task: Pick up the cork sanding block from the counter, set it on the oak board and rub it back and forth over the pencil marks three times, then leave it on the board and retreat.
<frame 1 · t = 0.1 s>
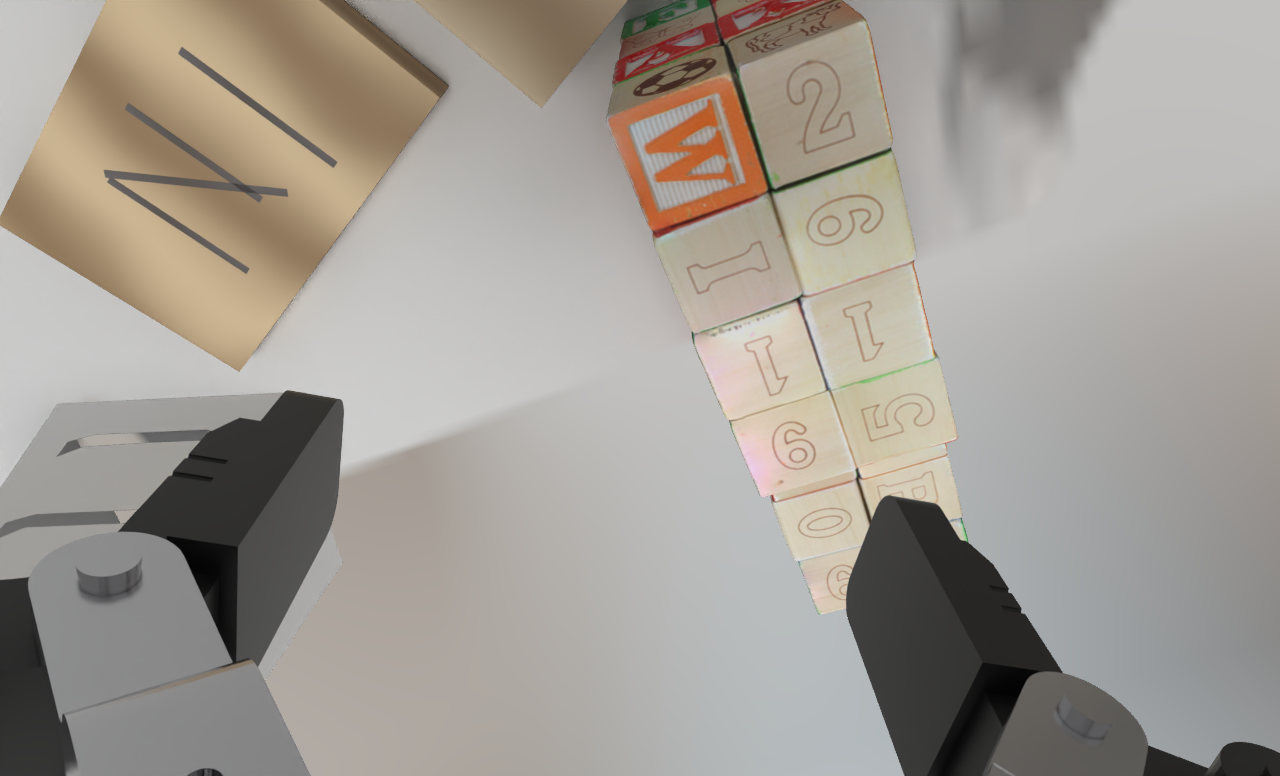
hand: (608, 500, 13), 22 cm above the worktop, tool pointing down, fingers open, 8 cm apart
grater: (211, 485, 42), on the worktop
stack of blocks: (785, 252, 35), on the worktop
board: (226, 149, 32), on the worktop
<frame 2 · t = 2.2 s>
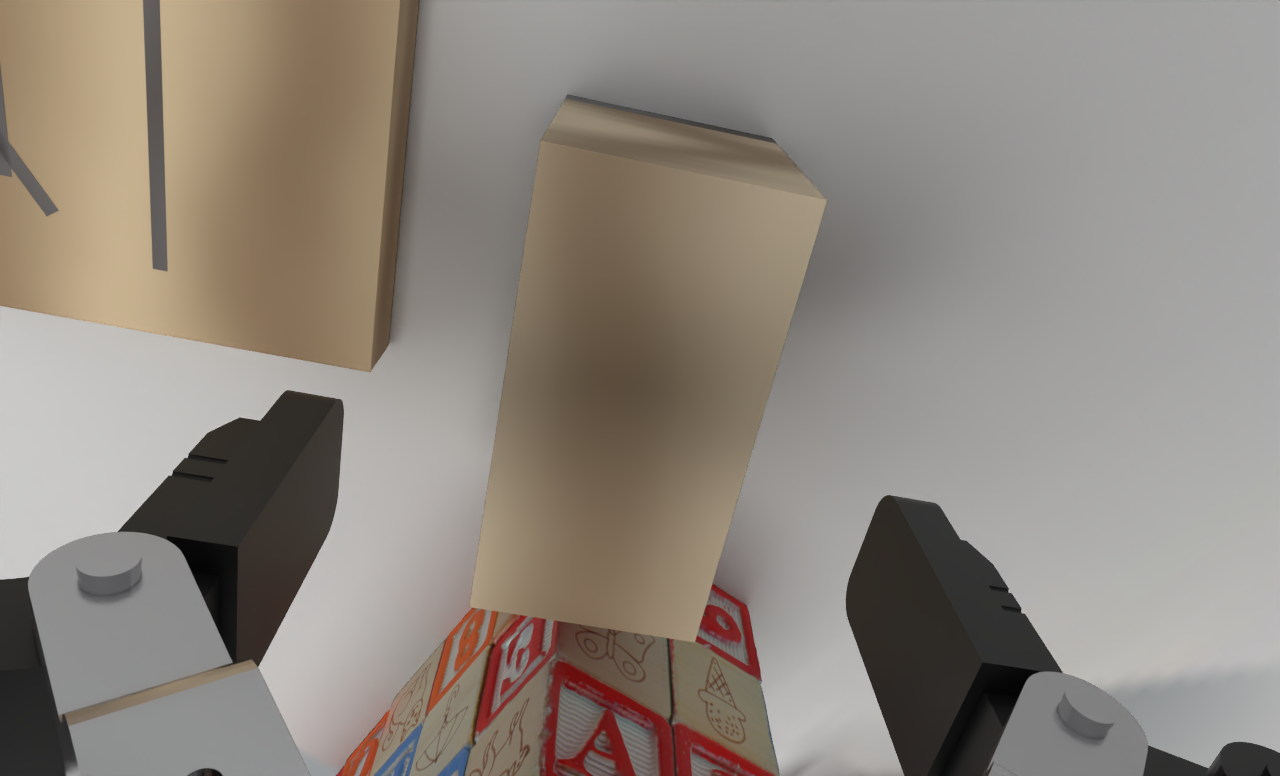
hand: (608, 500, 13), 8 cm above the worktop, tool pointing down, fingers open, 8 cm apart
sanding block: (629, 308, 20), on the worktop
stack of blocks: (457, 765, 27), on the worktop
board: (44, 59, 18), on the worktop
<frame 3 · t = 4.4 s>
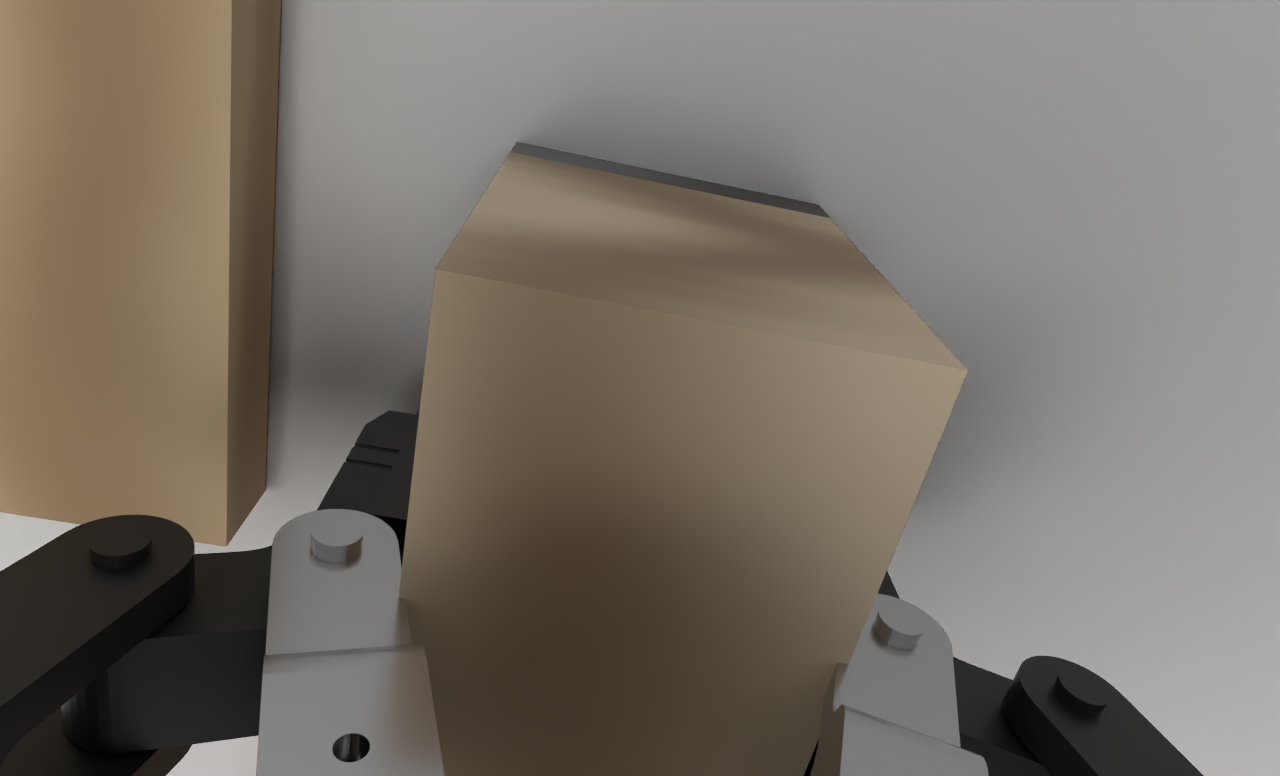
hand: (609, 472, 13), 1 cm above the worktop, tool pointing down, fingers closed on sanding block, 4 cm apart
sanding block: (611, 440, 14), on the worktop, touching gripper
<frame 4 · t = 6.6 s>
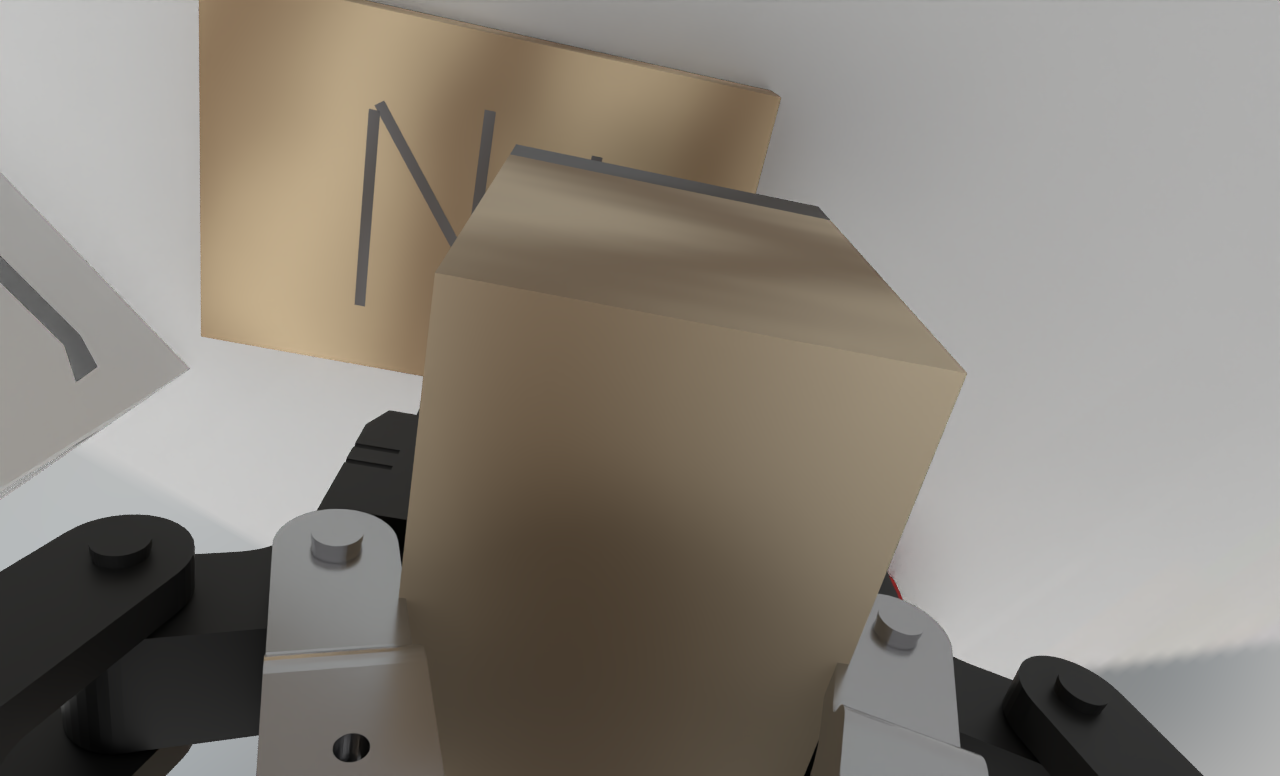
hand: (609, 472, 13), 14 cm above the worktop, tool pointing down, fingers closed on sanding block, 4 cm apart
sanding block: (611, 442, 14), point 13 cm above the worktop, touching gripper
board: (483, 209, 26), on the worktop
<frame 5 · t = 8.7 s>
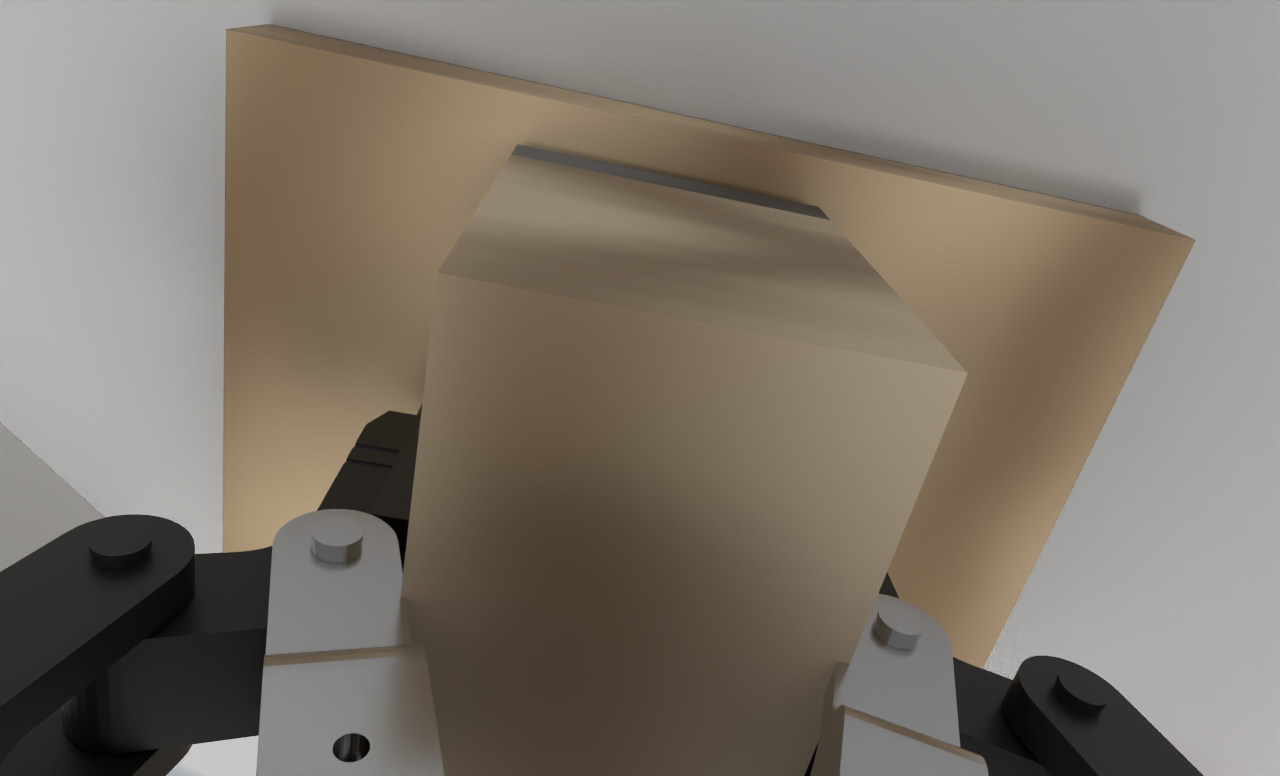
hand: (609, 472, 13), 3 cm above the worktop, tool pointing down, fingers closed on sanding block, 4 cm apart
sanding block: (611, 442, 14), point 2 cm above the worktop, touching gripper
board: (662, 390, 16), on the worktop
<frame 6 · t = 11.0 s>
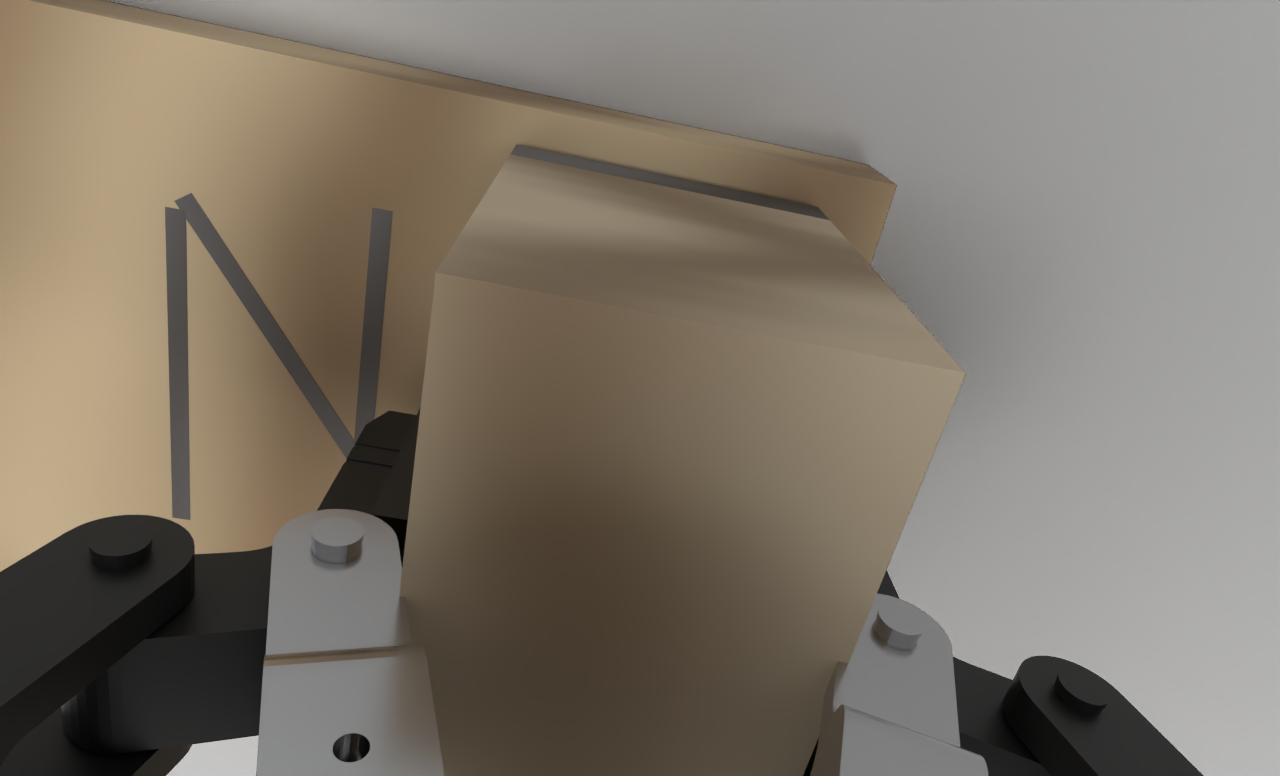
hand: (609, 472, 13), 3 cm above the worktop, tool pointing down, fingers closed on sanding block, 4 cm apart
sanding block: (611, 442, 14), point 2 cm above the worktop, touching gripper
board: (390, 354, 16), on the worktop
when the fingers open (3 cm above the worktop, at t = 12.9 s): sanding block stays where it is, resting on board.
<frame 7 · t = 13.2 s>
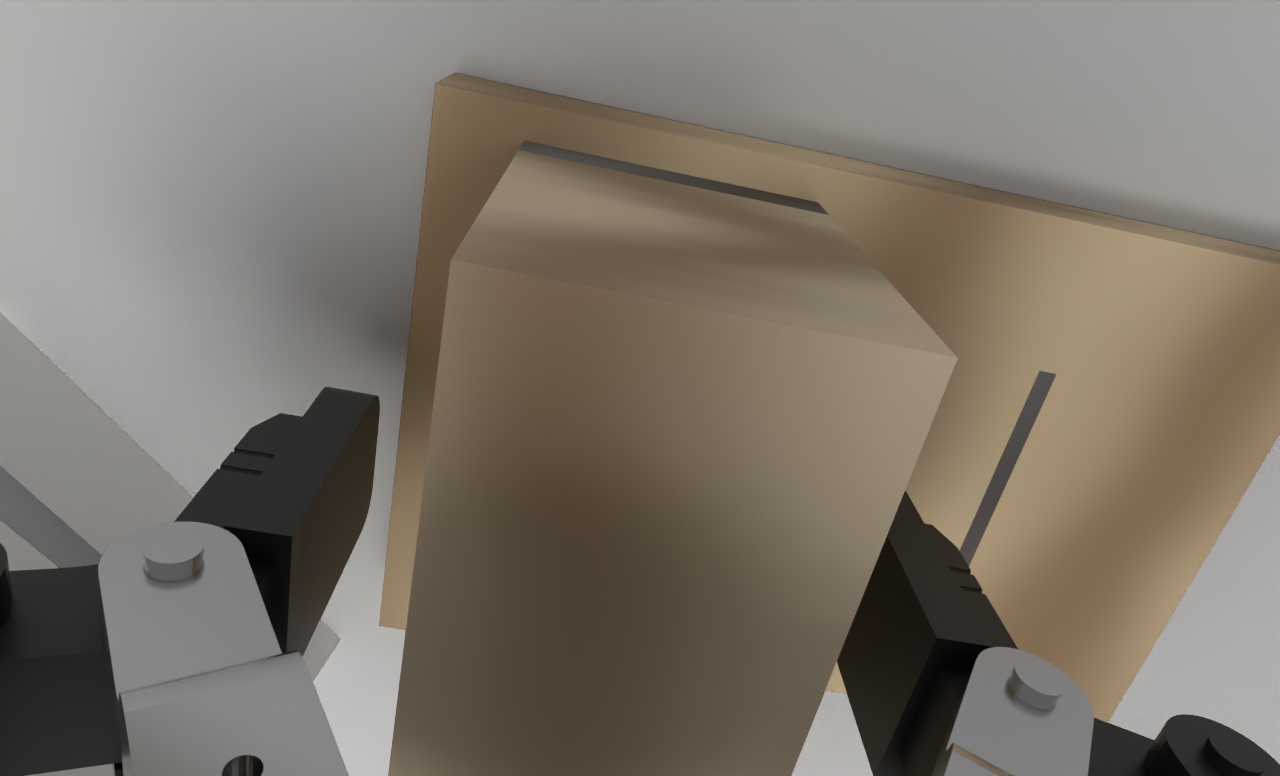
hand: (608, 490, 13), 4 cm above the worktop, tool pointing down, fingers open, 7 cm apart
sanding block: (615, 432, 15), point 2 cm above the worktop, touching board
board: (814, 426, 17), on the worktop
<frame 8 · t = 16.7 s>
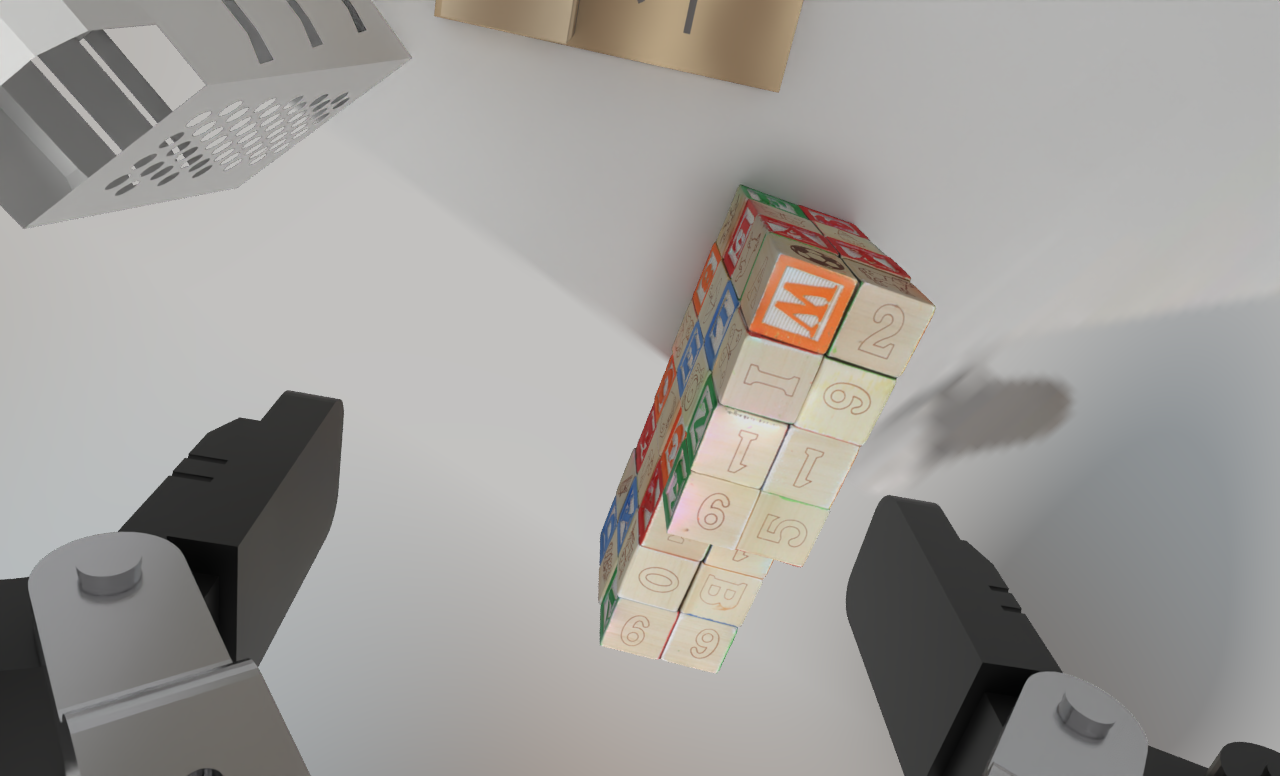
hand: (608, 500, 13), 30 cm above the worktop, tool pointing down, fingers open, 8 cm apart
grater: (242, 19, 37), on the worktop
stack of blocks: (716, 388, 46), on the worktop
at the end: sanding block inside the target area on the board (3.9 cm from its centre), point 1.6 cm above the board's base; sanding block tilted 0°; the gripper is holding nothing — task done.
